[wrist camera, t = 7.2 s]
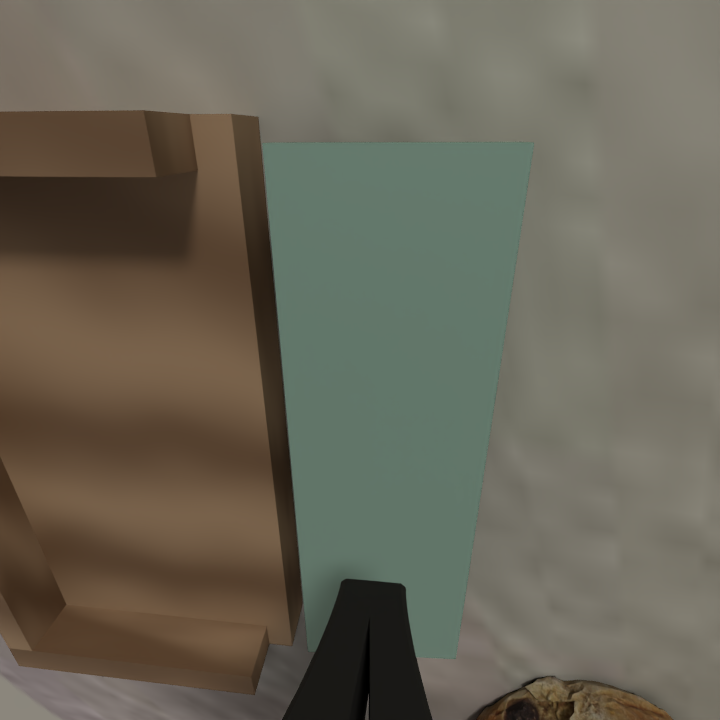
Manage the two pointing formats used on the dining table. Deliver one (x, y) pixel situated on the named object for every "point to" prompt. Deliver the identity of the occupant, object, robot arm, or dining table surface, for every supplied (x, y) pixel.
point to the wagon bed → (141, 401)
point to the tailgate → (392, 359)
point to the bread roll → (572, 703)
